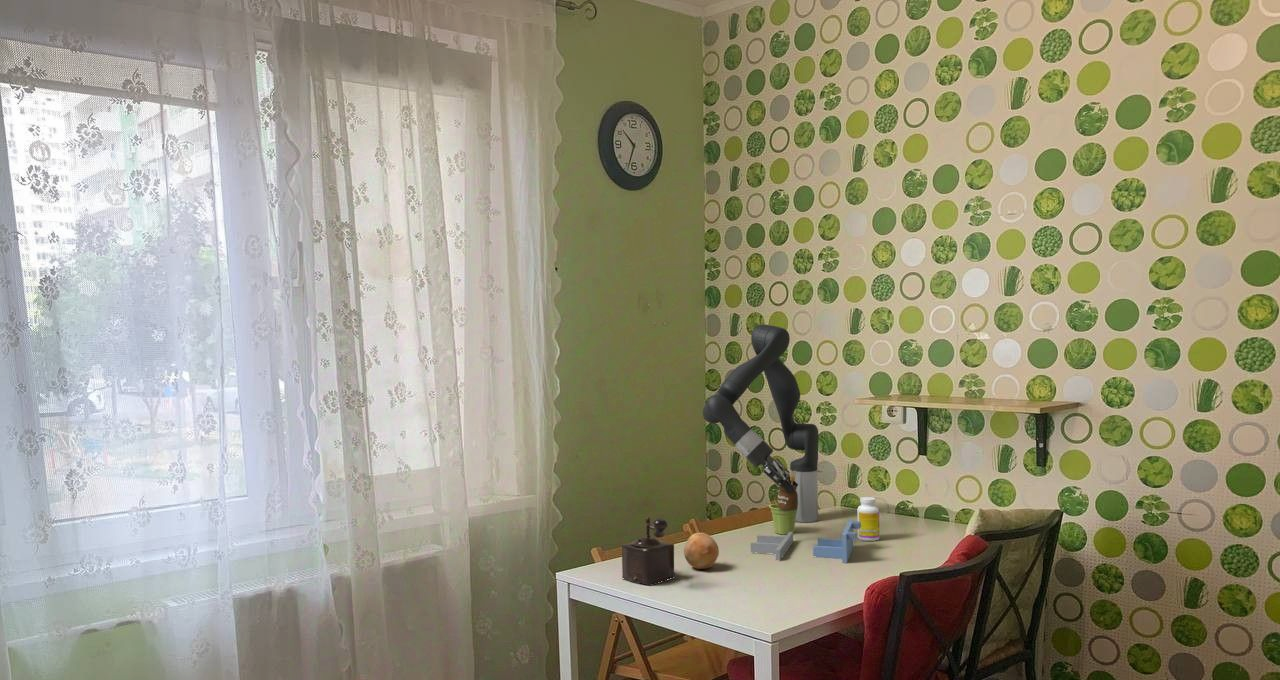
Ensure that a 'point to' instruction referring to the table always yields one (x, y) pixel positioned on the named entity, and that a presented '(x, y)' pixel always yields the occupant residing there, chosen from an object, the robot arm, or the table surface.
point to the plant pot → (783, 519)
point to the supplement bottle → (868, 519)
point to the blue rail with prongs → (838, 544)
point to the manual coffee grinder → (649, 556)
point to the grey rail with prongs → (772, 544)
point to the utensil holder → (788, 496)
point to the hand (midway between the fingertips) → (794, 489)
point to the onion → (701, 551)
